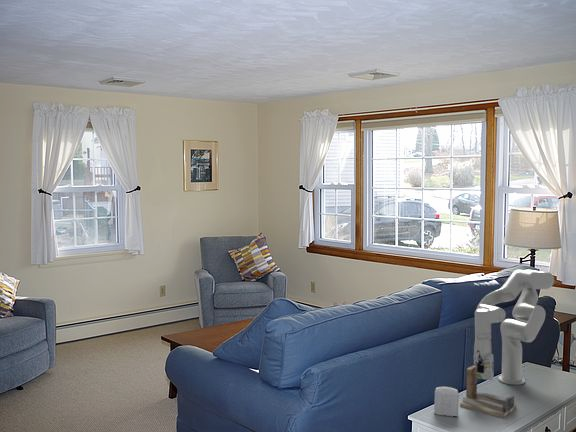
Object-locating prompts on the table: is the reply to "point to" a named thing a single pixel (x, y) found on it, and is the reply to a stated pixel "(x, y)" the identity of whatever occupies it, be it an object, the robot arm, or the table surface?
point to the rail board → (490, 404)
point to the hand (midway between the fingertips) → (483, 370)
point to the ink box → (486, 368)
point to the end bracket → (471, 382)
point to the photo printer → (446, 401)
